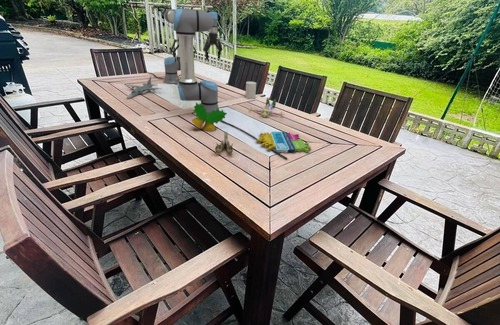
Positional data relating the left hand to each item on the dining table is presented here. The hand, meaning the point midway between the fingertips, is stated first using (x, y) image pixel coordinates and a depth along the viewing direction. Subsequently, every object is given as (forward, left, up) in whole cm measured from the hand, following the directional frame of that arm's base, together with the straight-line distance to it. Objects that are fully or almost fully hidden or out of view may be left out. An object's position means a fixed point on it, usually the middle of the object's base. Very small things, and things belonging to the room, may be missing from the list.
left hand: (213, 59), depth 233 cm
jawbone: (+101, -76, -28) cm, 130 cm away
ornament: (+71, -63, -28) cm, 99 cm away
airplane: (-27, -56, -28) cm, 68 cm away
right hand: (+2, -31, 0) cm, 32 cm away
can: (+36, +13, -28) cm, 47 cm away
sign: (+114, -44, -28) cm, 125 cm away
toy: (+72, -6, -28) cm, 78 cm away
